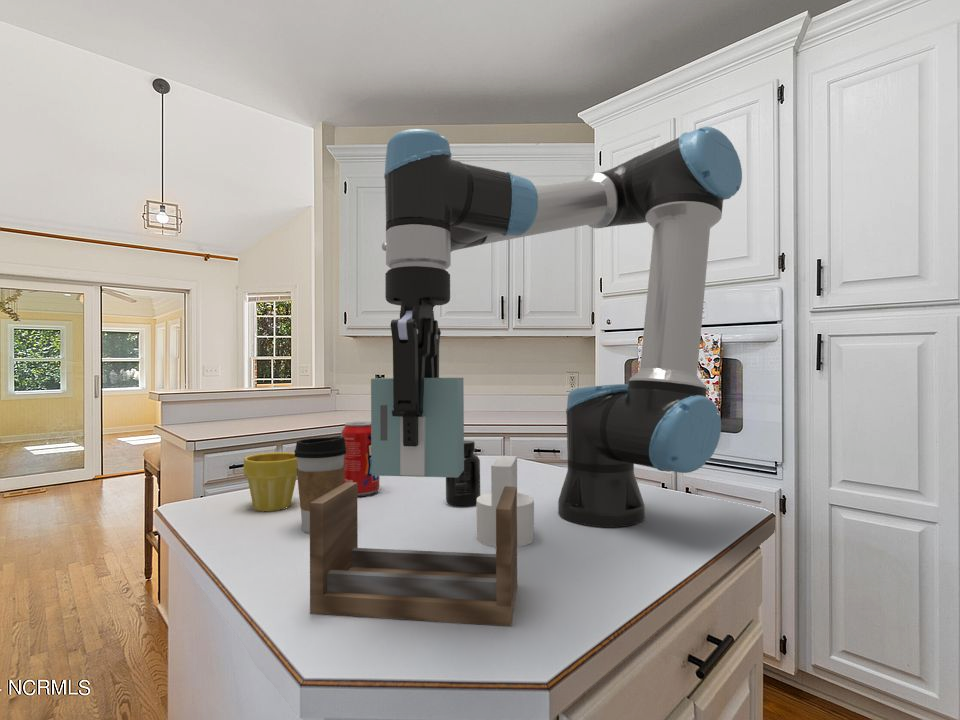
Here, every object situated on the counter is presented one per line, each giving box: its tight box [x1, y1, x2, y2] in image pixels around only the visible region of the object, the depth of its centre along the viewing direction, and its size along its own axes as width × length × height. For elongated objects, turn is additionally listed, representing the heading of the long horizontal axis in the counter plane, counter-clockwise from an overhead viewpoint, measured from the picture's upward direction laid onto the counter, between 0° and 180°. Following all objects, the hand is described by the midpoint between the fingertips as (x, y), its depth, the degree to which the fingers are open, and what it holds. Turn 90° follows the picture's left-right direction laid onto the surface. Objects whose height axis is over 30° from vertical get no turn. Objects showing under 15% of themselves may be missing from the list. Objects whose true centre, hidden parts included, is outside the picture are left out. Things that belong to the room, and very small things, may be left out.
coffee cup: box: [293, 436, 347, 534], centre depth 85 cm, size 8×8×15 cm
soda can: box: [340, 421, 380, 497], centre depth 108 cm, size 8×8×15 cm
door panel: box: [370, 377, 465, 478], centre depth 59 cm, size 10×4×11 cm, turn 82°
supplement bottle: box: [445, 440, 481, 508], centre depth 100 cm, size 7×7×12 cm
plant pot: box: [243, 451, 298, 512], centre depth 98 cm, size 10×10×10 cm
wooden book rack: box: [309, 482, 518, 627], centre depth 59 cm, size 22×10×12 cm, turn 82°
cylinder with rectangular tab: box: [476, 455, 535, 548], centre depth 79 cm, size 9×9×12 cm
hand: (418, 470), depth 59 cm, fingers closed on door panel, 4 cm apart
